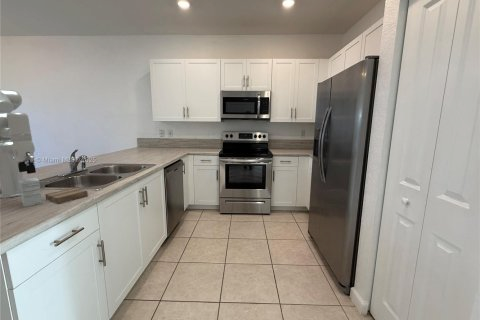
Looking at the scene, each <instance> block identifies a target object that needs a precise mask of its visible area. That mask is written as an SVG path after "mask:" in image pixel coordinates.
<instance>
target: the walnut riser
mask: <svg viewBox="0 0 480 320" xmlns="http://www.w3.org/2000/svg"><path fill="white" fill-rule="evenodd" d="M88 194H89V193H88V190H85V189H81V188H77V187H72V188H71V187H70V188H67V189H62V190H59V191H54V192H50V193H46V194H44V195H45V200H46V201H49V202H52V203H54V204H56V205H60V204H63V203H64V204H65V203H66V202H67V201H68V202H72V201H75V200H79V199H82V198H85V197H86V198H87V197H88V196H89V195H88ZM71 200H72V201H71ZM68 202H67V203H68Z"/></svg>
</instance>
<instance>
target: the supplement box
mask: <svg viewBox="0 0 480 320" xmlns="http://www.w3.org/2000/svg"><path fill="white" fill-rule="evenodd" d="M18 183H19V188H20V194H21V196H20V197H21V204H22V206H23V207H24V208H25V207H26V208H27V207H30V206H37V205H40V204H43V202H44V201H43V196H42V191H41V186H40V185H41V184H40V180H39V179H38V177H32V178H25V179H24V178H23V180H18Z"/></svg>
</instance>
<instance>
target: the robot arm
mask: <svg viewBox="0 0 480 320" xmlns="http://www.w3.org/2000/svg"><path fill="white" fill-rule="evenodd" d="M22 103H23V98H22V96H21V95H20V93H19V92H18V91H16V90H12V89H2V88H1V89H0V190H1V193H0V199H8V198H15V197H21V194H20V188H19V183H18V180H24V176H23V175H24V174H23V173H24V172H25V173H26V174H28V175H31V174H36V172H37V170H36V163H35V155H34V153H35V152H36V148H35V144H34V142H33V136H32V132H31V126H30V120H29V116H28V114H27V113H26V112H13V111H16V110H17V109H18V108H19V107H20V106H21V105H22Z"/></svg>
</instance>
